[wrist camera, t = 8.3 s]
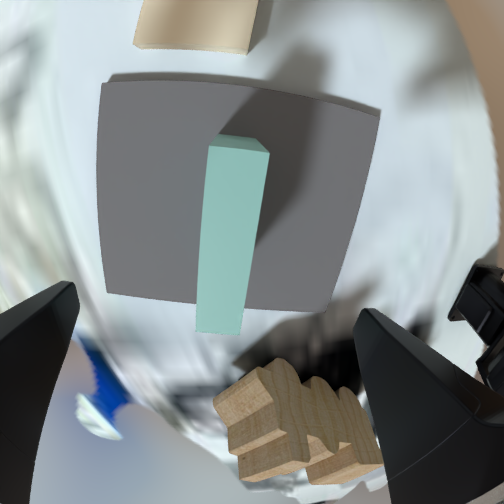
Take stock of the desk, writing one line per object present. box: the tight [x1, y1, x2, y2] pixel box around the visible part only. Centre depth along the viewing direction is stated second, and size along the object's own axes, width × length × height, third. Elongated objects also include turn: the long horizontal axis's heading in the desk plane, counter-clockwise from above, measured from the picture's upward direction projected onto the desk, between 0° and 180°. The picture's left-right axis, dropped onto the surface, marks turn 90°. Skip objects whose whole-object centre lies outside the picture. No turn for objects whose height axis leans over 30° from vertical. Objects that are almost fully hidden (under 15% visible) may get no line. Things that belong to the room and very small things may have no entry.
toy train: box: [213, 358, 384, 485], centre depth 21 cm, size 6×17×10 cm, turn 50°
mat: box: [96, 80, 380, 313], centre depth 16 cm, size 16×14×1 cm
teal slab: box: [196, 134, 270, 335], centre depth 13 cm, size 2×8×6 cm, turn 172°
